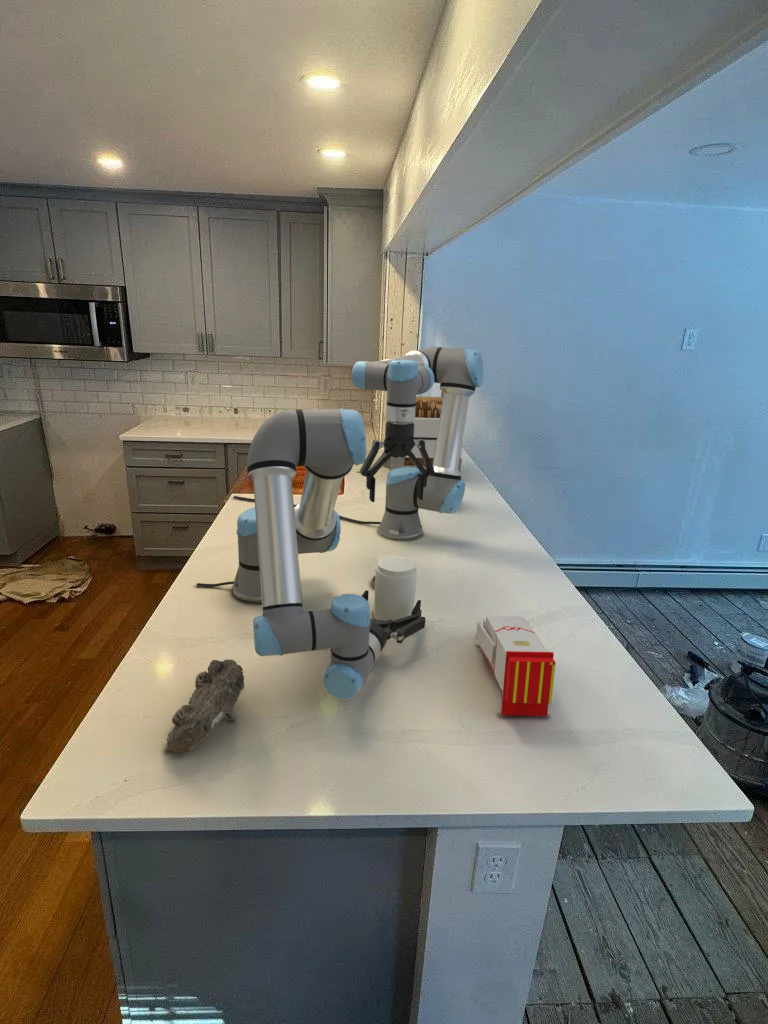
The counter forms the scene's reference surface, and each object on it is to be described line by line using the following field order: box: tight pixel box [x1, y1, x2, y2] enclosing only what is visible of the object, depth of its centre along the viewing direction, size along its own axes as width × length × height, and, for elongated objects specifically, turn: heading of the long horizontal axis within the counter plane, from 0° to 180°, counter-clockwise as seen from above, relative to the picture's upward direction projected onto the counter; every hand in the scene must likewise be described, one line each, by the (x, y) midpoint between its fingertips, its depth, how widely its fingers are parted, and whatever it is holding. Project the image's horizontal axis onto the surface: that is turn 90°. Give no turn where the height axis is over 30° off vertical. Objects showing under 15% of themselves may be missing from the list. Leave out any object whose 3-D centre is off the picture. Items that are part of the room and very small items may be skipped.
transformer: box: [383, 391, 464, 475], centre depth 268 cm, size 34×33×41 cm
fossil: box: [166, 658, 245, 754], centre depth 106 cm, size 22×10×15 cm
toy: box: [475, 615, 557, 717], centre depth 123 cm, size 12×13×30 cm
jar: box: [373, 555, 418, 626], centre depth 144 cm, size 10×10×15 cm
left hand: (392, 599), depth 141 cm, fingers open, 13 cm apart
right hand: (396, 499), depth 154 cm, fingers open, 13 cm apart
